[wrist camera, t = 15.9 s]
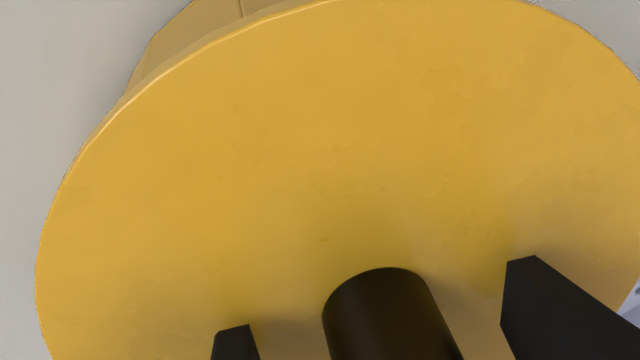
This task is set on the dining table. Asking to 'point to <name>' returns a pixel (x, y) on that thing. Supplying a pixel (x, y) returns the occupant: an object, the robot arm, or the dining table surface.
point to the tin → (191, 30)
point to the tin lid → (346, 186)
